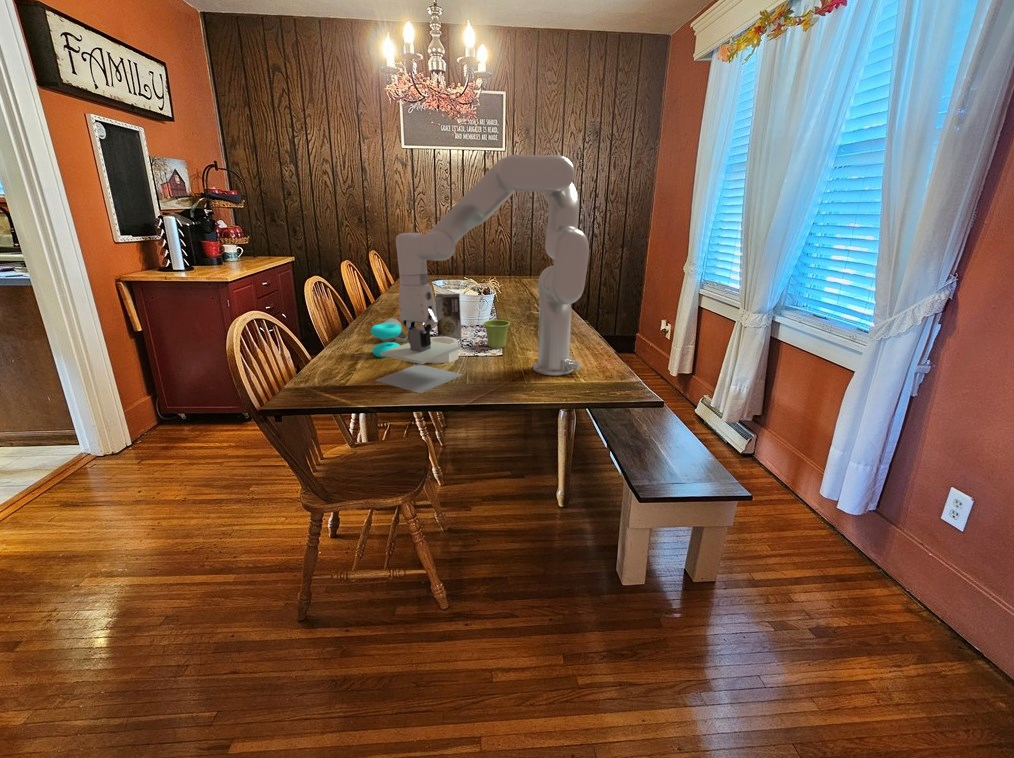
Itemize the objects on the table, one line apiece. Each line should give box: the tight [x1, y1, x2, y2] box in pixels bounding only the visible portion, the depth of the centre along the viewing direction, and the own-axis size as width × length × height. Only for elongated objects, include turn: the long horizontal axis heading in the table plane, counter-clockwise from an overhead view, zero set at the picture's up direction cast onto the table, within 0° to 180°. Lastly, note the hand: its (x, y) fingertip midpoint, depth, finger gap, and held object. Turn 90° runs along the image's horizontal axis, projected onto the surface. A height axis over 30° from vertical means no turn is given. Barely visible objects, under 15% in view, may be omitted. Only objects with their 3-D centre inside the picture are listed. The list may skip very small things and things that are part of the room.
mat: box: [374, 363, 463, 394], centre depth 140 cm, size 18×18×1 cm
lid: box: [380, 326, 461, 365], centre depth 136 cm, size 16×16×7 cm
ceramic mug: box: [378, 317, 409, 343], centre depth 178 cm, size 11×8×8 cm
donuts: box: [370, 323, 401, 359], centre depth 161 cm, size 10×10×10 cm
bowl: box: [428, 336, 460, 364], centre depth 157 cm, size 12×12×6 cm
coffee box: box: [434, 293, 463, 339], centre depth 183 cm, size 9×6×16 cm
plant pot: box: [483, 319, 511, 349], centre depth 171 cm, size 9×9×9 cm
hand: (420, 344), depth 137 cm, fingers closed on lid, 4 cm apart
